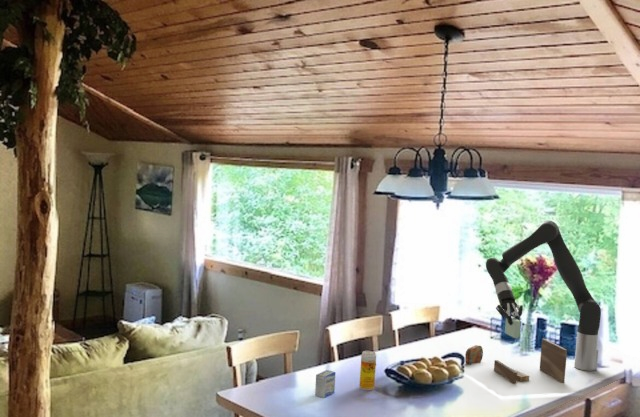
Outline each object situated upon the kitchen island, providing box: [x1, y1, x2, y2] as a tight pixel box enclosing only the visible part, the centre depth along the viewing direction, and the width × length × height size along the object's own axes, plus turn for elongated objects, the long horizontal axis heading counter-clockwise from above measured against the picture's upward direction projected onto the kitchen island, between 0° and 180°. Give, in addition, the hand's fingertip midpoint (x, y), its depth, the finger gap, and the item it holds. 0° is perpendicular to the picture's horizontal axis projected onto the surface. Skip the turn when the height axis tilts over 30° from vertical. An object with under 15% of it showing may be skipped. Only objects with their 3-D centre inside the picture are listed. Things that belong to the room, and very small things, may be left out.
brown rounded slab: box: [464, 344, 484, 366], centre depth 319 cm, size 15×3×8 cm, turn 143°
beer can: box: [359, 350, 377, 392], centre depth 274 cm, size 6×6×15 cm
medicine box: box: [314, 369, 336, 399], centre depth 265 cm, size 8×4×9 cm, turn 148°
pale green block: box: [504, 315, 522, 339], centre depth 318 cm, size 3×9×8 cm, turn 12°
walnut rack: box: [493, 338, 568, 384], centre depth 300 cm, size 24×18×16 cm
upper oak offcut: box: [511, 368, 530, 382], centre depth 298 cm, size 5×12×2 cm, turn 28°
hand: (515, 324), depth 316 cm, fingers closed on pale green block, 3 cm apart
